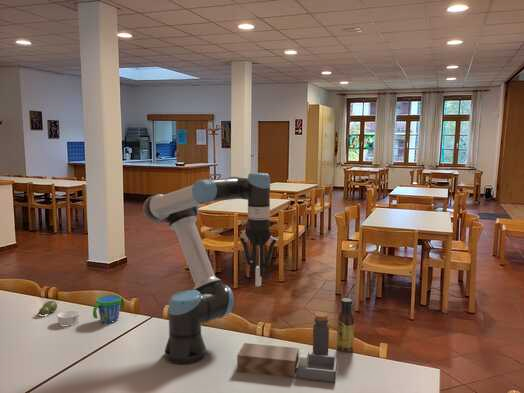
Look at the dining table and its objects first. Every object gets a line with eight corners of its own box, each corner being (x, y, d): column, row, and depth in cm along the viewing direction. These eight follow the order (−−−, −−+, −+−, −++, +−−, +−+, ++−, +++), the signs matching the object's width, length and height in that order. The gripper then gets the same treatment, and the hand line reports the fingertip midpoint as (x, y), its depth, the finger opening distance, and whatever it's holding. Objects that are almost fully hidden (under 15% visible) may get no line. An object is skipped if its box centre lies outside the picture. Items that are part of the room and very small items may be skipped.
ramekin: (74, 327, 196) (73, 317, 196) (53, 327, 196) (53, 317, 196) (82, 319, 205) (82, 310, 204) (63, 319, 205) (63, 309, 205)
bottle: (327, 356, 170) (328, 317, 169) (312, 355, 171) (312, 316, 170) (328, 350, 176) (329, 312, 174) (313, 348, 177) (314, 311, 175)
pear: (58, 299, 215) (45, 310, 206) (60, 309, 216) (46, 320, 207) (48, 298, 216) (34, 308, 207) (49, 308, 217) (35, 319, 208)
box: (295, 378, 154) (296, 367, 154) (299, 363, 165) (300, 353, 164) (335, 383, 151) (335, 371, 151) (336, 367, 162) (336, 356, 162)
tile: (299, 357, 155) (306, 357, 155) (301, 349, 161) (308, 350, 161) (299, 373, 156) (306, 374, 156) (301, 365, 162) (308, 366, 161)
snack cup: (100, 328, 195) (99, 305, 194) (86, 322, 201) (86, 300, 200) (131, 318, 207) (131, 296, 206) (117, 312, 213) (117, 291, 212)
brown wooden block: (237, 371, 159) (237, 355, 158) (244, 358, 168) (244, 342, 168) (294, 377, 155) (294, 361, 154) (298, 364, 164) (298, 348, 164)
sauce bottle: (335, 345, 180) (336, 296, 178) (351, 345, 180) (353, 296, 178) (338, 353, 174) (339, 302, 171) (354, 353, 173) (356, 302, 171)
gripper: (237, 219, 155) (237, 287, 158) (275, 220, 152) (274, 289, 155) (243, 215, 162) (242, 280, 165) (279, 217, 160) (278, 283, 162)
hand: (258, 285), depth 160 cm, fingers closed
